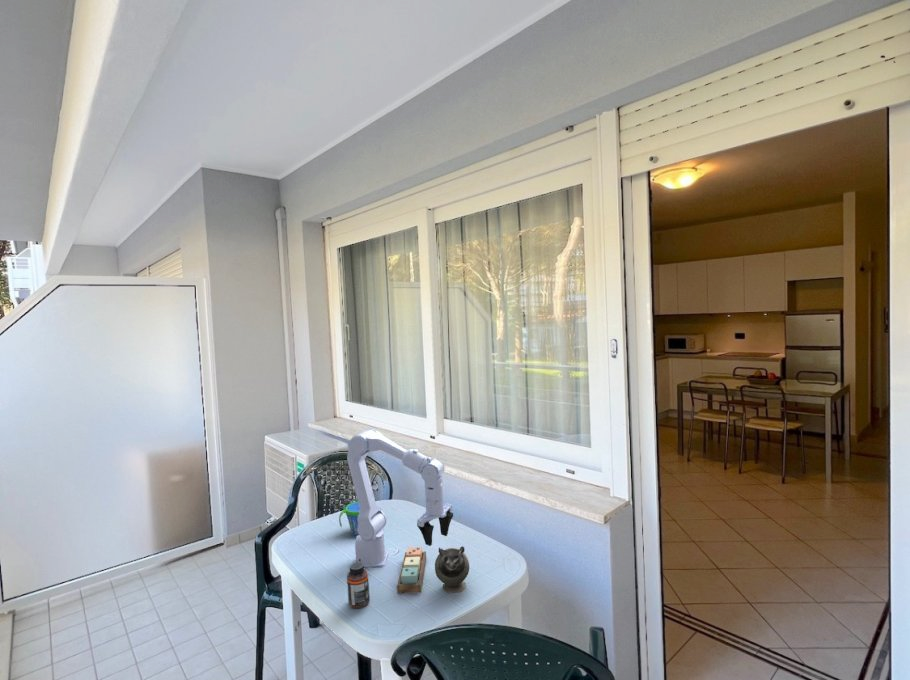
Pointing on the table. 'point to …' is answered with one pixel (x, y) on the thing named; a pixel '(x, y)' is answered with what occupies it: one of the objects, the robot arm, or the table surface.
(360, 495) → the robot arm
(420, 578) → the tile tray
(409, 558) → the tile one
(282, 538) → the table surface
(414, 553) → the tile three
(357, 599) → the supplement bottle
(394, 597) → the table surface
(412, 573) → the tile two
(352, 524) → the snack cup
